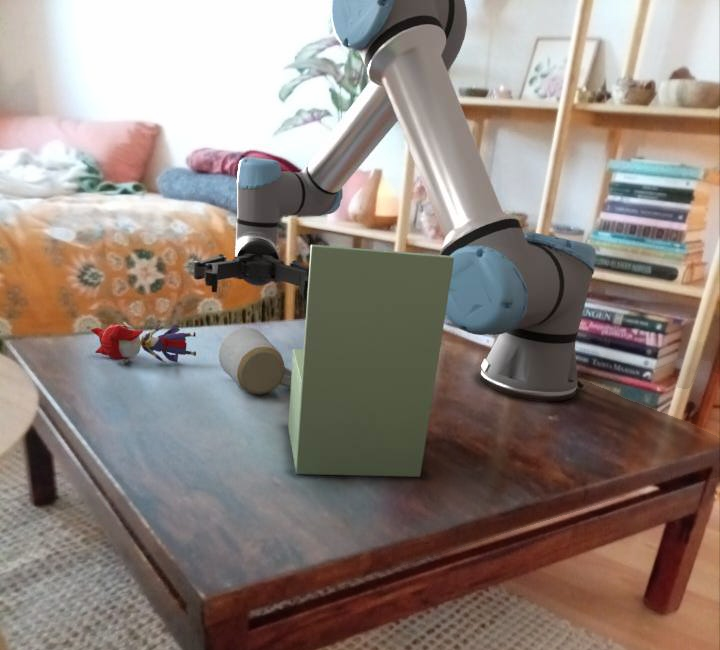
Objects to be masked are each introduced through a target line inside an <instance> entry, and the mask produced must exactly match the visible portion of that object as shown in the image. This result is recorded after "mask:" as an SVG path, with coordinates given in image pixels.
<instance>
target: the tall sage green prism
mask: <svg viewBox="0 0 720 650" xmlns="http://www.w3.org/2000/svg"><path fill="white" fill-rule="evenodd" d="M309 252H310V253H309V266H308V267H309V279H308V294H307V299H306V310H305V324H304V339H303V349H302V348H293V349H292V363H291V371H292V376H291V388H290V392H289V393H290V395H289V410H288V426H287V428H288V433H289V434H288V435H289V440H290V446H291V451H292V457H293V464H294V469H295V474H296V475H318V476H321V475H323V476H361V477H362V476H366V477H367V476H368V477H406V478H407V477H409V478H410V477H413V478H414V477H415V478H420V477H421V473H422V467H423V462H424V461H423V460H424V454H425V448H426V441H427V435H428V429H429V422H430V416H431V411H432V410H431V409H432V402H433V397H434V390H435V383H436V376H437V371H438V364H439V359H440V352H441V346H442V345H441V344H442V340H443V339H442V338H443V332H444V326H445V320H446V308H447V301H448V295H449V288H450V282H451V276H452V269H453V263H454V258H453V257H452V256H445V255H439V254H432V253H421V252H420V253H419V252H408V251H395V250H383V249H371V248H370V249H369V248H358V247H347V246H336V245H335V246H333V245H323V244H310V251H309Z"/></svg>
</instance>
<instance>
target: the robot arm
mask: <svg viewBox="0 0 720 650" xmlns="http://www.w3.org/2000/svg"><path fill="white" fill-rule="evenodd" d="M330 17H331V25H332V30H333V32H334V35H335V38H336V40H337V41H338V42H339V43H340V44H341V45H342V46H343V47H344V48H346V49H347V50H349V51H352V52H358V53H359V56H360V58H361V60H362V63H363V65H364V68H365V69H366V72H367V75H368V78H369V79H370V80H369V81H368V83H367V84H366V85H365V87H364V88H363V89H362V91H361V92H360V93H359V95H358V96H357V98H356V99H355V100H354V101H353V103H352V104H351V106H350V107H349V108H348V109H347V111H346V112H345V113H344V115H343V116H342V117H341V119H340V120H339V122H338V123H337V124H336V125H335V126H334V128H333V130H332V131H331V132H330V134H328V136H327V137H326V139H325V140H324V141H323V143H322V144H321V145H320V147H319V148H318V150H317V151H316V153H315V154H314V155H313V156H312V157H311V159H310V160H309V162H308V163H307V164H306V165H305V166H304V168H303V169H302V170H301V171H300V172H299V171H298V172H297V171H296V172H295V171H285V170H284V171H282V167H281V163H280V161H278V160H275V159H268V158H260V157H249V156H248V157H242V158H241V159H240V160H239V163H238V170H237V179H236V186H237V188H236V192H237V197H236V198H237V199H236V201H237V202H236V203H237V204H236V205H237V206H236V207H237V208H236V209H237V213H236V214H237V215H236V223H235V242H234V252H235V256H234V257H233V258H232V259H227V256H226V255H224V254H223V253H219V254H216V255H215V256H212V257H209V258H203V259H201V260H195V261H194V262H193V279H195V280H197V281H199V280H203V279H204V283H205V286H206V287H211V293H217V292H218V285H219V281H221V280H227V279H233V278H234V279H236V280H243V281H244V282H246V283H247V284H249V285H252V286H257V287H258V286H259V287H261V286H265V285H267V284H269V283H271V282H274V283H282V282H284V283H287V284H290V285H295V286H297V287H299V290H300V293H301V297H302V299H303V300H307V294H308V279H309V266H307V265H305V264H303V263H301V262H300V261H298V260H295V259H294V260H291V261H290V262H289V264H285V262H284V260H282V259H280V256H279V252H278V250H277V245H278V244H277V241H278V225H279V216H314V217H320V216H324V215H325V216H326V215H331V214H333V213H335V212H336V211H337V210H339V208H340V206H341V201H342V200H343V197H344V196H343V195H344V194H343V187H344V186H345V185H346V184H347V182H348V181H349V180H350V179H351V177H352V176H353V175H354V174H355V173H356V172H357V170H358V169H359V168H360V167H361V165H363V163H364V162H365V161H366V159H368V157H369V156H370V155H371V153H372V152H373V151H375V149H376V148H377V146H378V145H379V144H380V143H381V141H383V139H385V137H386V136H387V134H389V132H390V131H391V130H392V129H393V127H394V126H395V125H396V124H397V122H398V124H399V127H400V129H401V132H402V134H403V136H404V139H405V142H406V145H407V148H408V149H409V152H410V154H411V157H412V160H413V162H414V165H415V167H416V170H417V172H418V175H419V178H420V181H421V183H422V185H423V187H424V190H425V193H426V196H427V198H428V201H429V203H430V205H431V208H432V211H433V213H434V215H435V218H436V221H437V223H438V226H439V228H440V231H441V233H442V236H443V238H444V239H443V240H444V241H443V244H442V247H441V249H440V251H439V254H438V255H445V256H452V257H453V258H454V263H453V269H452V276H451V282H450V288H449V295H448V301H447V308H446V314H445V316H446V317H447V318H448V320H449V321H450V322H451V323H452V324H453V325H454V326H456V327H457V328H458V329H459V330H462V331H464V332H466V333H468V334H471V335H477V336H484V335H485V336H486V335H487V336H495V335H498V337H497V338H496V340H495V342H494V344H493V345H492V348H491V350H490V351H489V353H488V355H487V357H486V358H484V359H483V361H482V363H481V364H480V367H481V371H480V377H479V378H480V381H481V382H482V383H483V384H484V385H485V386H486V387H488V388H490V389H492V390H494V391H496V392H499V393H501V394H504V395H507V396H509V397H510V396H511V397H515V398H518V399H523V400H530V401H538V402H562V401H567V400H570V399H572V398H574V396H575V395H576V393H577V390H578V389H577V388H579V389H580V390H581V389H583V388H584V387H585V386H584V385H585V384H583V383H582V382H581V381H580V380H578V368H577V355H576V342H577V337H578V333H579V330H580V326H581V322H582V317H583V313H584V309H585V306H586V302H587V297H588V294H589V291H590V286H591V282H592V278H593V275H594V274H595V264H596V257H597V251H596V248H595V247H594V246H593V245H591V244H589V243H586V242H581V241H578V240H572V239H567V238H562V237H558V236H554V235H548V234H544V233H539V232H533V231H525V230H524V231H523V228H522V225H521V223H520V220H519V218H518V217H517V216H514V215H511V214H508V213H506V212H504V210H503V209H502V207H501V204H500V202H499V199H498V196H497V194H496V191H495V189H494V186H493V184H492V182H491V179H490V176H489V174H488V171H487V169H486V166H485V164H484V161H483V159H482V156H481V153H480V151H479V149H478V146H477V144H476V143H477V142H476V141H475V139H474V135H473V134H472V133H473V132H472V130H471V128H470V126H469V123H468V120H467V118H466V116H465V113H464V110H463V108H462V105H461V103H460V100H459V98H458V95H457V92H456V90H455V87H454V85H453V83H452V80H451V77H450V74H449V72H448V71H449V70H450V69H451V67H452V65H453V64H454V62H455V61H456V59H457V58H458V55H459V53H460V52H461V50H462V49H461V48H462V46H463V44H464V40H465V37H466V32H467V27H468V11H467V5H466V1H465V0H332V1H331V15H330Z"/></svg>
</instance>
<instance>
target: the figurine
mask: <svg viewBox="0 0 720 650" xmlns="http://www.w3.org/2000/svg"><path fill="white" fill-rule="evenodd" d="M166 325H167V324H166V323H165V322H164V321H161V323H160V324H159V325H158V326H157V327H155V328H154V329H153V330H151V331H149V332H148V333H143V332H144V328H142V329H134V328H133V326H131V325H130V324H129V323H127V322H126V321H123V324H116V323H113V322H112V323H111V324H110V325H109V326H107V328H106V329H103V328H100V327H93V328H92V329H90V332H92V333H93V334H95V335H97V337H98V339H99V343H100V346H99V348H97V349H96V350H95V351H94V353H95V354H100V355H104V356H107V357H108V358H109V359H112V360H115V361H122V360H124V364H126V363H127V362H129V361H131V360H132V359H134V357H136V356H138V354H139V353H140V350H141V348H142V349H143V351H145V352H147V353H148V354H150V355H151V356H153V357H155V358H156V359H157V360H158V361H160V362H161V363H162V364H163V366H164V365H165V366H166V364H167V361H166V360H164V359H163V357H161V355H159V354H158V353H156V352H159V353H162V355H163V356H164V357H165V358H166V359H167V360H168V361H170V362H172V363H173V362H174V363H177V364H178V362H179V361H178V360H179V355H182V356H185V355H189V356H190V355H191V356H194V357H196V356H197V351H196V350H193V351H191V350H187V339H186V338H187V337H188V338H190V337H194V338H195V337H196V332H195V331H193V332H186V333H185V332H179V331H181V329H180V328H179V327H178V326H177V325H176V324H174V325H173V326H172V327H171V328H169V329H168V330H167V331H165V332H164V333H163V334H161V335H158V336H153V335H155V334H156V333H157V332H159V331H160V330H161V329H162V328H163V327H164V326H166ZM142 333H143V335H142V336H141V334H142ZM140 336H141V338H140Z"/></svg>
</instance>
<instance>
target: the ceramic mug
mask: <svg viewBox="0 0 720 650" xmlns="http://www.w3.org/2000/svg"><path fill="white" fill-rule="evenodd" d="M218 361H219V364H220V366H221V368H222V370H223V371H224V372H225V374H226V375H228V377H229V378H230V379H231V380H232V381H234V383H235V384H236V385H237V386H238V387H239V388H240V389H242V390H243V391H245V392H247V393H249V394H251V395H266V394H268V393H271V392H272V391H274V390H275V389H276V388H277V387H278V386H279V385H281V386H284V387H287V388H290V389H291V376H292V369H289V368H288V367H286V366H285V361H284V358H283V356H282V354H281V352H280V351H279V349H277V347H275V346H274V344H272V342H271V341H270V340H269V339H268V338H267V337H266V336H265V334H263V333H262V332H261V331H259V330H258V329H255V328H253V327H244V326H243V327H239V328H236V329H234V330H232V331H230V332H229V333H227V335H226V336H225V337H224V338H223V340H222V342H221V344H220V346H219V350H218Z"/></svg>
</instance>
